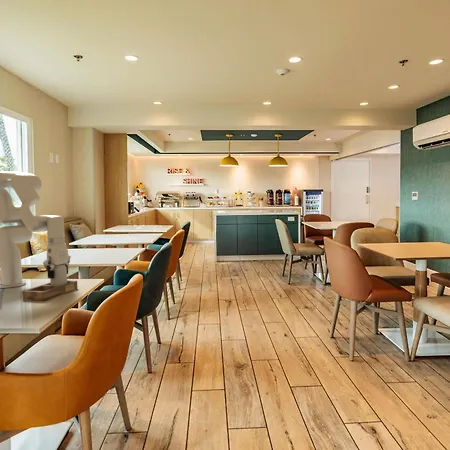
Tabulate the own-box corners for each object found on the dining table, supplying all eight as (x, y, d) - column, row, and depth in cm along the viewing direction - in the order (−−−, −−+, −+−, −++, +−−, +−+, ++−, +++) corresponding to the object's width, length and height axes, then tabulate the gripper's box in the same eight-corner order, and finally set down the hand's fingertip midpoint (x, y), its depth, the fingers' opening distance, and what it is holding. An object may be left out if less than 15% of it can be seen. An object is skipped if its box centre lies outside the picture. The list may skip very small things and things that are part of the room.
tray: (23, 299, 161) (22, 291, 161) (58, 287, 182) (57, 279, 182) (44, 301, 158) (44, 292, 158) (78, 288, 179) (77, 280, 179)
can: (52, 287, 178) (50, 263, 177) (68, 286, 180) (67, 262, 179) (49, 291, 171) (47, 266, 170) (66, 289, 173) (64, 265, 172)
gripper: (49, 243, 164) (51, 280, 166) (75, 239, 181) (76, 272, 182) (36, 243, 166) (38, 279, 168) (62, 239, 183) (64, 272, 184)
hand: (58, 276), depth 175 cm, fingers open, 9 cm apart
